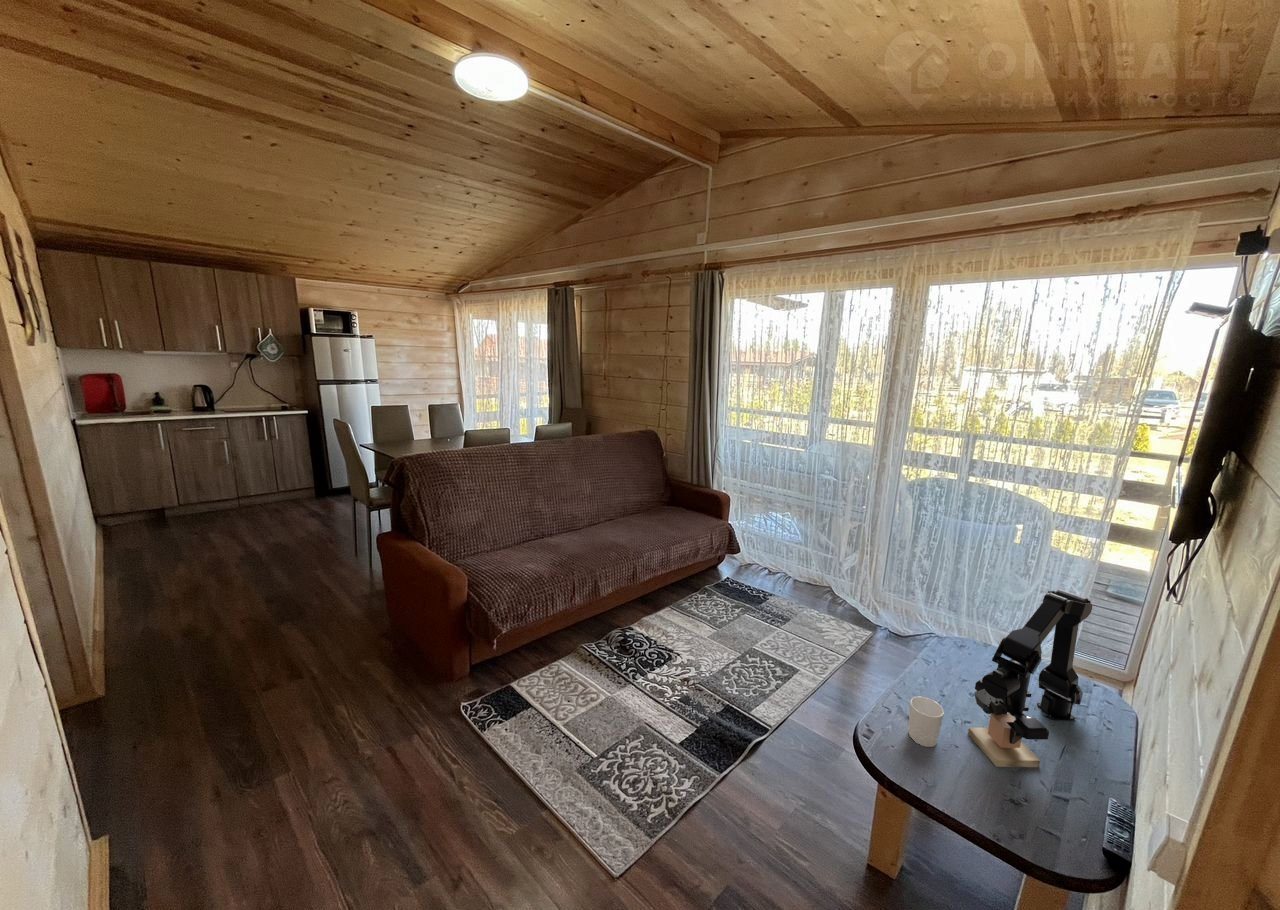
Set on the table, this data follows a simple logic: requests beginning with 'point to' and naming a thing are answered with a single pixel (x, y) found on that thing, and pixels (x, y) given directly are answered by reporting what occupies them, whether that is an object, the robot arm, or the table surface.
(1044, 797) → the table surface
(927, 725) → the white cup
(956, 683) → the table surface
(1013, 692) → the robot arm
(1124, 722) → the table surface
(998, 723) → the block
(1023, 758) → the base slab
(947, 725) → the table surface
